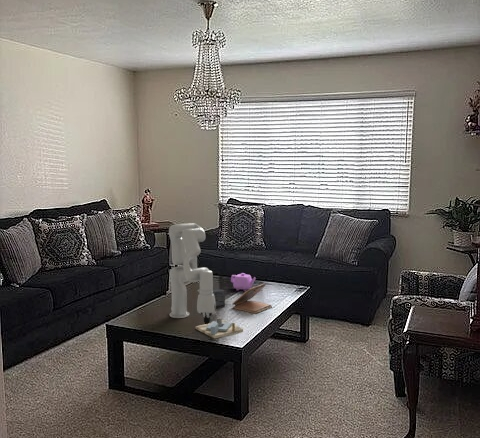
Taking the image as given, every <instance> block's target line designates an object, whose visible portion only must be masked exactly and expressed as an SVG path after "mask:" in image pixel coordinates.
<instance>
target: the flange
mask: <svg viewBox="0 0 480 438" xmlns="http://www.w3.org/2000/svg"><path fill="white" fill-rule="evenodd" d="M209 323H210V324H209V325H208V326H207V328H206V330H211V334H212V335H215V334H216V333H217V332H218V331H227V330H228V329H229V328H230V326H231V325H232V323H233V322H230V321H227V322H222V326H223V327H218V323H217V320H212V321H210V322H209Z"/></svg>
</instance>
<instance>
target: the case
mask: <svg viewBox="0 0 480 438" xmlns="http://www.w3.org/2000/svg"><path fill="white" fill-rule="evenodd" d="M265 286H266V283H262V284H259V285H256V286H252V287H251V288H250V289H247V291H244V292H243V293H242V294H241V295H240V296H239V297H238V298H237V299H236V300H234V302H232V305H233V306H232V308H233V309H235V310H238V311H243V312H247V313H252V314H258V313H261V312H264V311H266V310H269V309H271V308H273V305H271V304H269V303H264V302H261V301H255V300H251V299H252V298H254V296H257V294H258V293H260V291H261V290H262V289H264V288H265Z"/></svg>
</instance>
